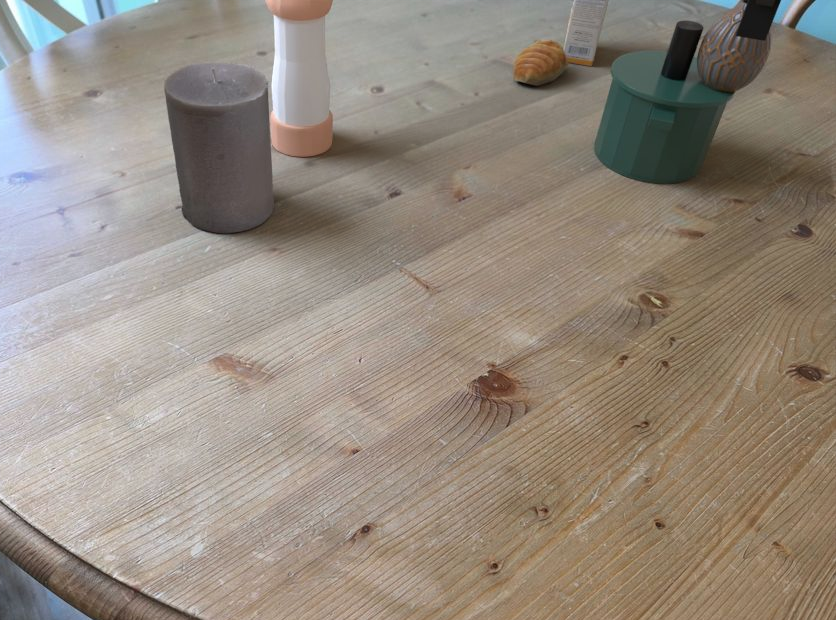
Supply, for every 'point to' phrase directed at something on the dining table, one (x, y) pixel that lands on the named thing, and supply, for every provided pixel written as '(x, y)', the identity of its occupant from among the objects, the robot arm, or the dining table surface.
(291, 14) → the salt shaker
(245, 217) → the pillar candle
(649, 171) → the pot
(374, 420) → the dining table surface
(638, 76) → the lid
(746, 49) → the vase
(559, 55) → the pastry
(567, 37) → the supplement box
